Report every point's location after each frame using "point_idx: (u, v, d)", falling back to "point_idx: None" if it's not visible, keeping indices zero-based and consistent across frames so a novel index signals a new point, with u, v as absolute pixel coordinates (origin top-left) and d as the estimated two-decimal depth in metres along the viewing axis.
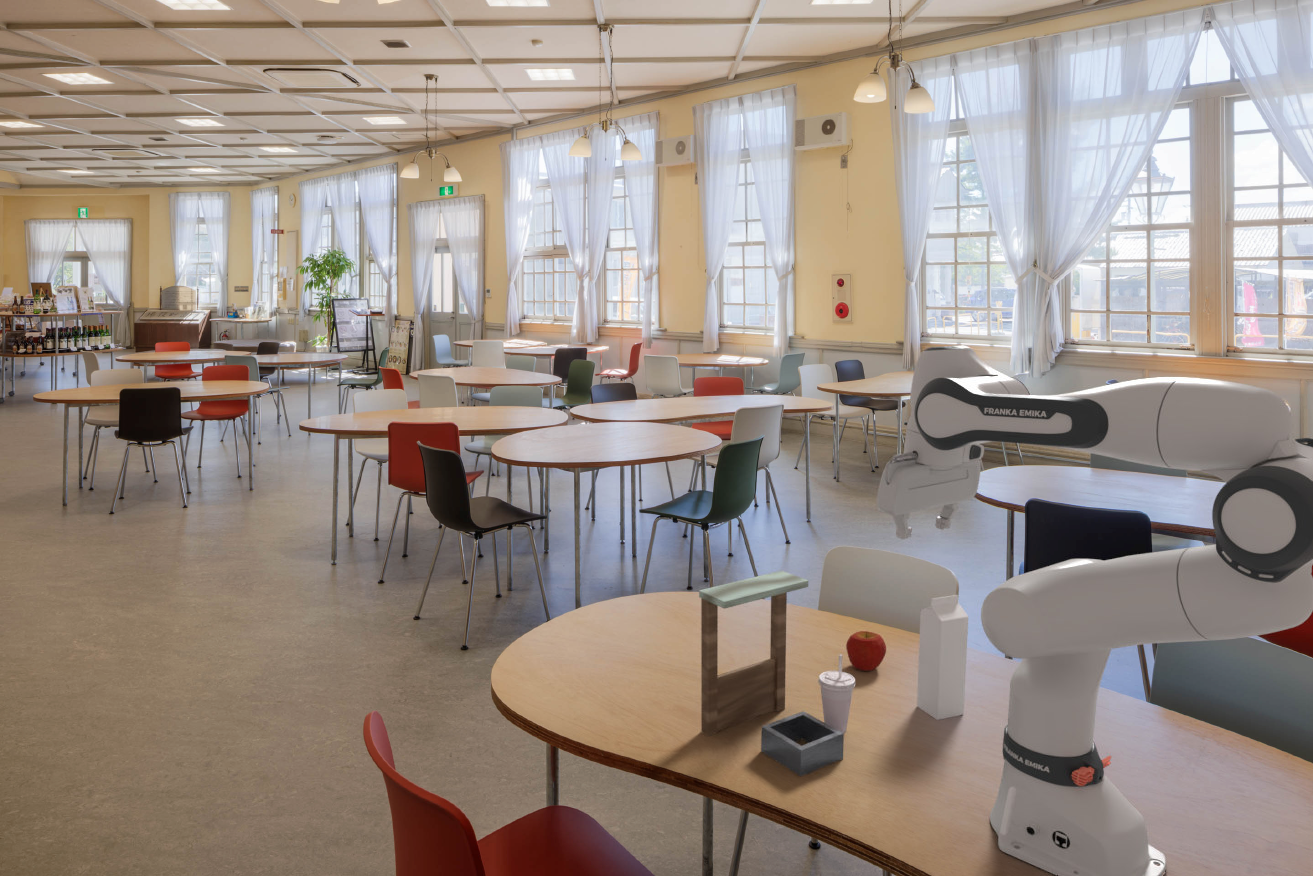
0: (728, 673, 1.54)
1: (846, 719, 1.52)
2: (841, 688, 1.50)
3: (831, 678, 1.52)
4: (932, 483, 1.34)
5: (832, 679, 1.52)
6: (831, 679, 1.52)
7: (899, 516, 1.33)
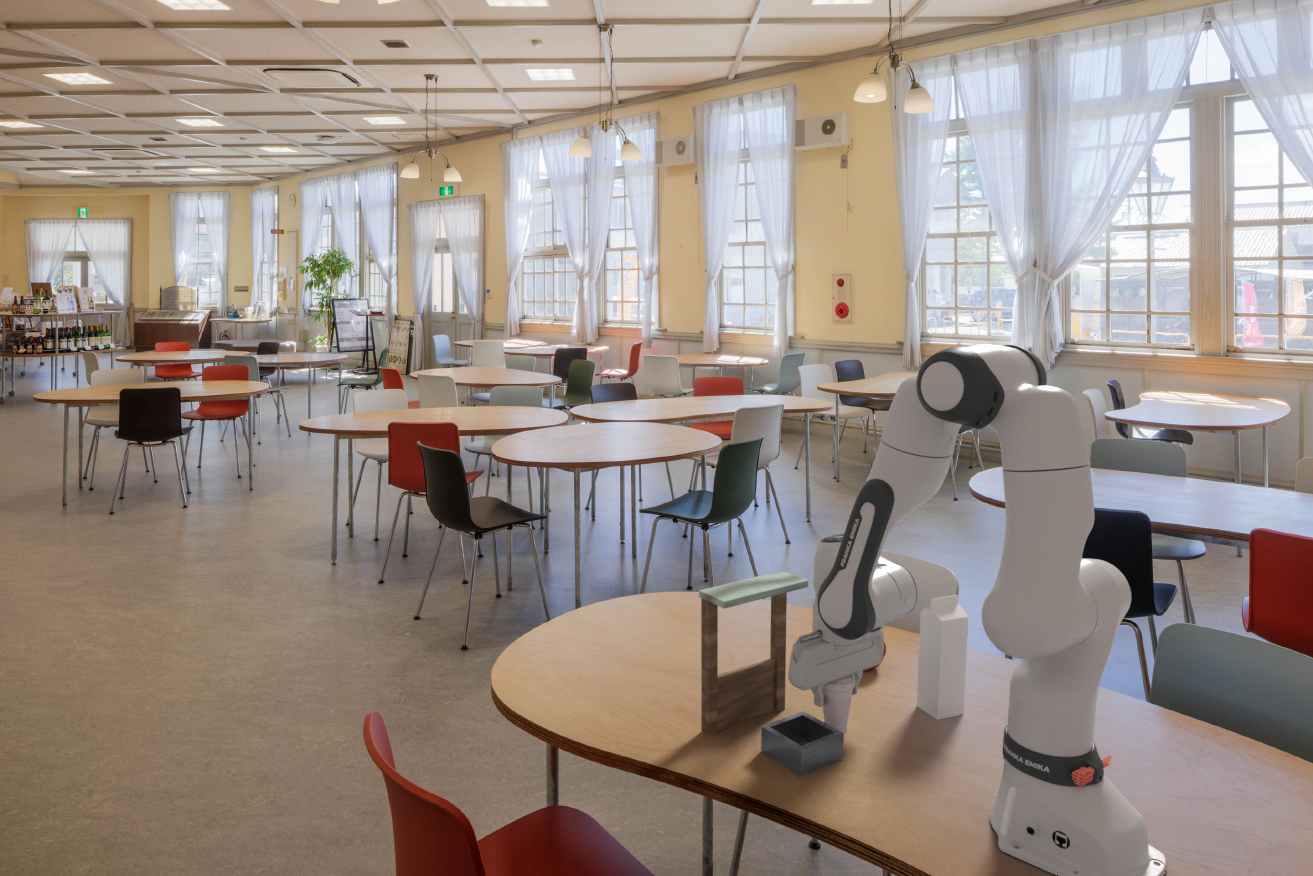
0: (728, 673, 1.54)
1: (846, 719, 1.52)
2: (841, 688, 1.50)
3: None
4: (838, 656, 1.50)
5: None
6: None
7: (814, 687, 1.49)
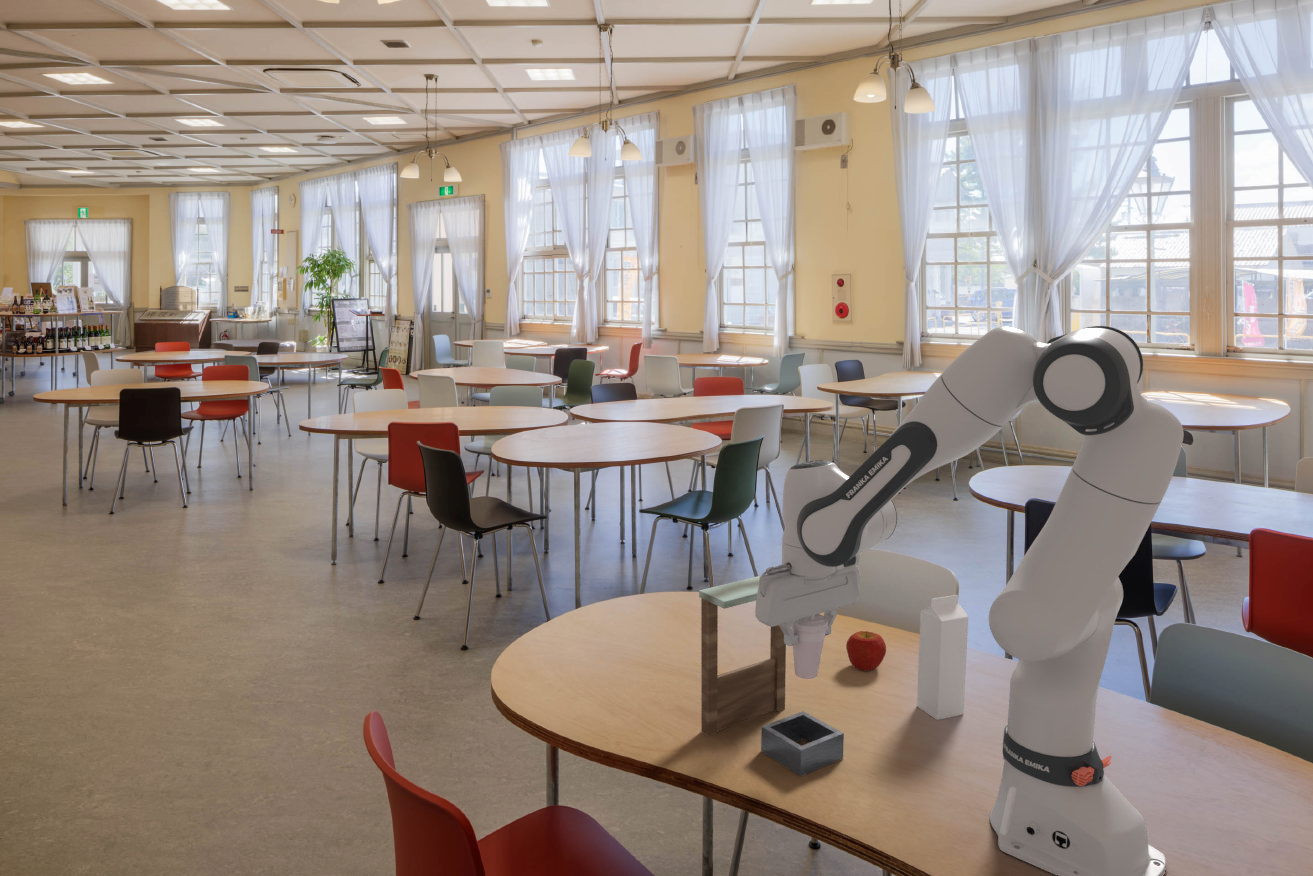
0: (728, 673, 1.54)
1: (817, 663, 1.43)
2: (813, 629, 1.40)
3: (803, 619, 1.43)
4: (809, 592, 1.40)
5: (804, 620, 1.42)
6: (802, 620, 1.42)
7: (783, 624, 1.40)
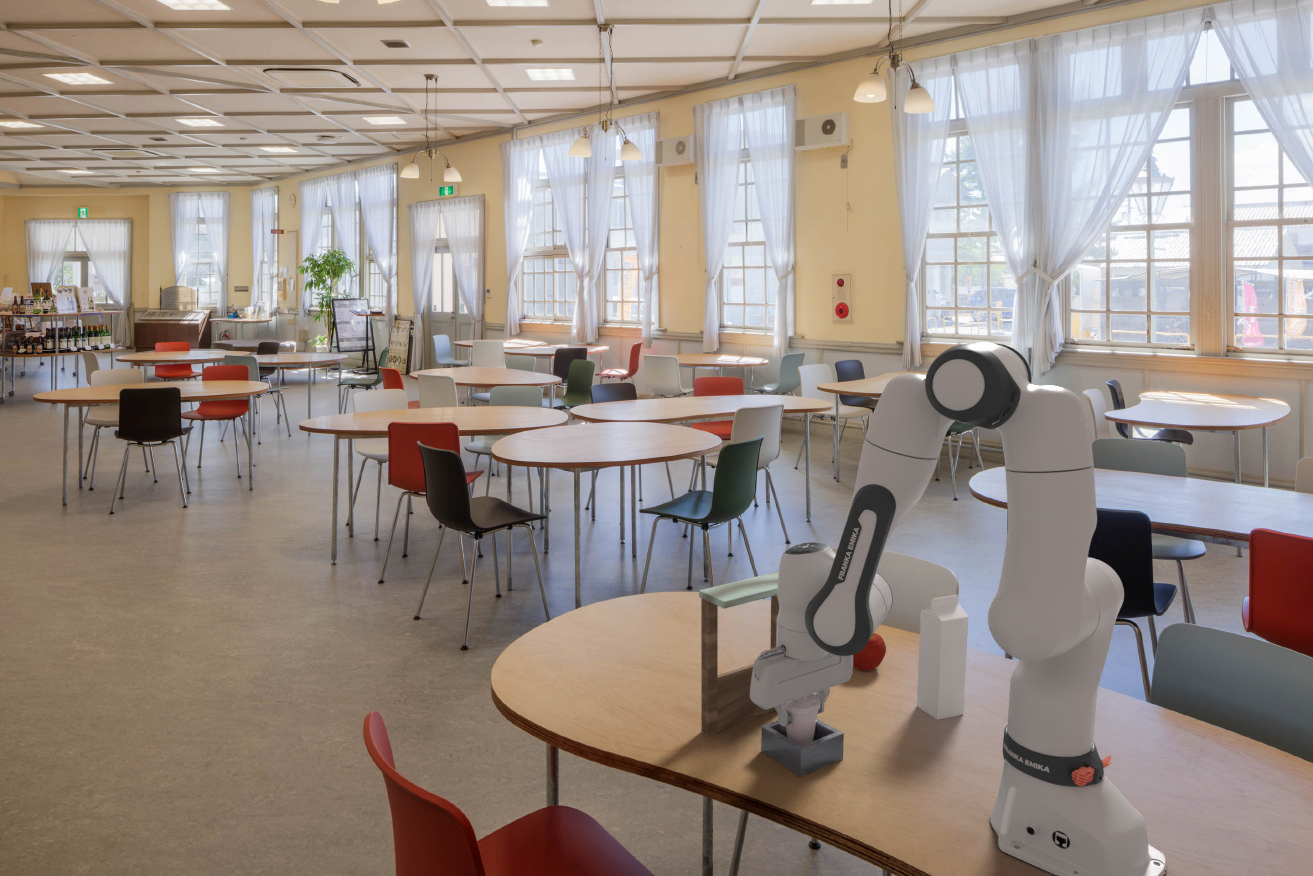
0: (728, 673, 1.54)
1: None
2: (806, 711, 1.42)
3: (795, 700, 1.44)
4: (803, 673, 1.42)
5: (796, 701, 1.44)
6: (795, 701, 1.44)
7: (778, 705, 1.41)
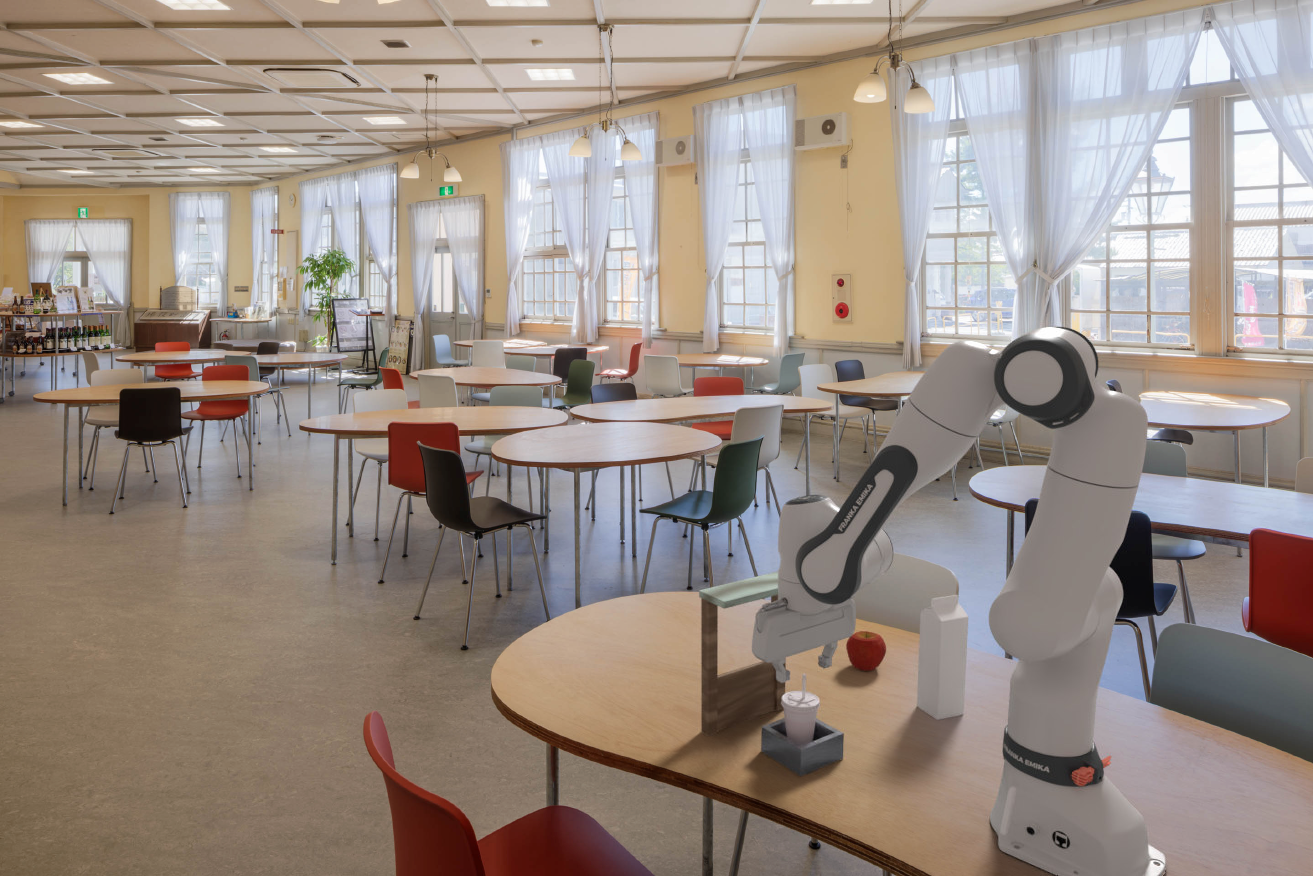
0: (728, 673, 1.54)
1: None
2: (805, 710, 1.42)
3: (794, 699, 1.45)
4: (805, 627, 1.40)
5: (796, 700, 1.44)
6: (794, 700, 1.44)
7: (775, 661, 1.39)
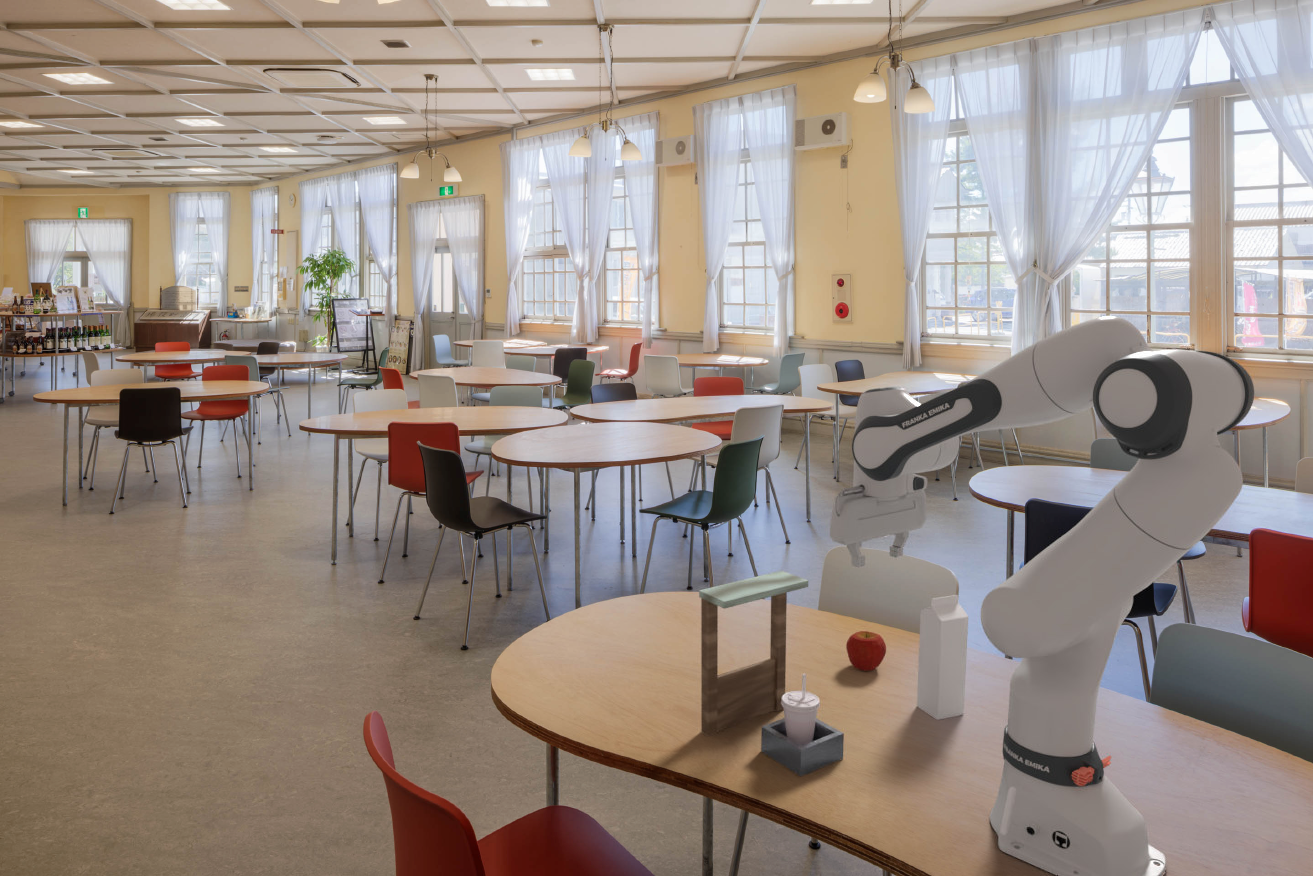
0: (728, 673, 1.54)
1: None
2: (805, 710, 1.42)
3: (794, 699, 1.45)
4: (880, 514, 1.45)
5: (796, 700, 1.44)
6: (794, 700, 1.44)
7: (852, 545, 1.44)
